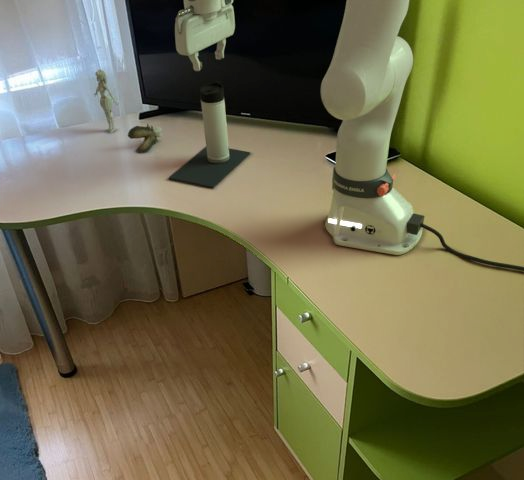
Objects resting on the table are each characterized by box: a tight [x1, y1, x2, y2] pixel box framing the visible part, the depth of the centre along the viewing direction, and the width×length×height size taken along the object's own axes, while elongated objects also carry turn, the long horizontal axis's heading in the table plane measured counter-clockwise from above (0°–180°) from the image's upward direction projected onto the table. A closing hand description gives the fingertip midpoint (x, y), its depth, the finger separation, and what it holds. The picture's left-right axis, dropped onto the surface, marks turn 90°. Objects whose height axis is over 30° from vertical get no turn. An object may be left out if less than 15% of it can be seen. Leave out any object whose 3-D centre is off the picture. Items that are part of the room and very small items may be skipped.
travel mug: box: [199, 81, 230, 164], centre depth 152 cm, size 6×7×20 cm
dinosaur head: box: [127, 123, 163, 154], centre depth 166 cm, size 8×7×9 cm
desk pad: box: [168, 146, 251, 190], centre depth 157 cm, size 14×22×1 cm, turn 154°
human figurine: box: [93, 69, 120, 134], centre depth 171 cm, size 12×4×18 cm, turn 47°
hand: (209, 64), depth 141 cm, fingers open, 8 cm apart
